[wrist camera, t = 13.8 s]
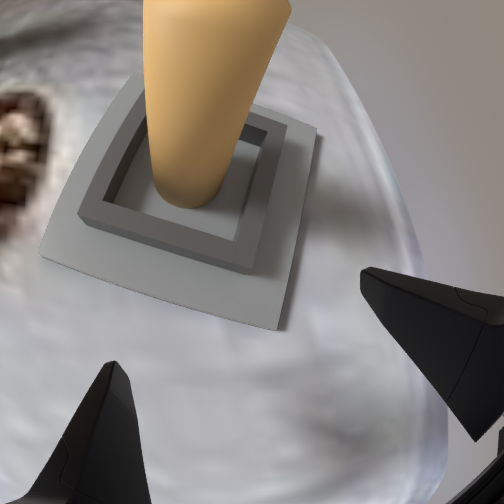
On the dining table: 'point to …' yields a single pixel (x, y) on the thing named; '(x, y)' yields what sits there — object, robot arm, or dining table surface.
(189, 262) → the socket
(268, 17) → the rounded tan peg
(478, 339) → the robot arm
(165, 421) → the dining table surface
